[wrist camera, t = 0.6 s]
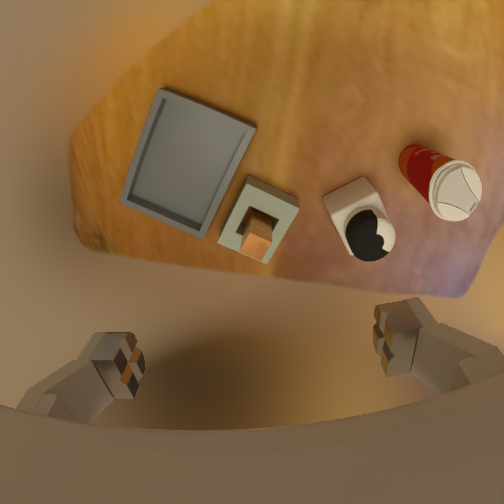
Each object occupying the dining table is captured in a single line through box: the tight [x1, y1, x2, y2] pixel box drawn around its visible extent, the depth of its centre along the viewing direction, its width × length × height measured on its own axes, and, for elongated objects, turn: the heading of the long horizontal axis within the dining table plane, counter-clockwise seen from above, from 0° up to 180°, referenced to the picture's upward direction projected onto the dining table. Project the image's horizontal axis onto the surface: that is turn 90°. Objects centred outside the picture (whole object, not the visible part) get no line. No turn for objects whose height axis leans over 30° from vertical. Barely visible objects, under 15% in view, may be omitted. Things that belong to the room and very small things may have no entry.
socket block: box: [217, 175, 300, 264], centre depth 47 cm, size 10×8×4 cm
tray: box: [119, 88, 257, 239], centre depth 44 cm, size 18×14×3 cm
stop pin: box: [240, 207, 272, 261], centre depth 45 cm, size 3×3×10 cm
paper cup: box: [399, 145, 482, 221], centre depth 37 cm, size 8×8×14 cm
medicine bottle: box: [323, 177, 395, 261], centre depth 42 cm, size 7×7×12 cm
